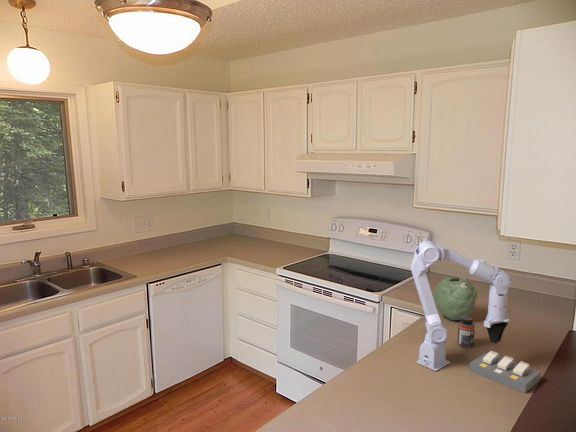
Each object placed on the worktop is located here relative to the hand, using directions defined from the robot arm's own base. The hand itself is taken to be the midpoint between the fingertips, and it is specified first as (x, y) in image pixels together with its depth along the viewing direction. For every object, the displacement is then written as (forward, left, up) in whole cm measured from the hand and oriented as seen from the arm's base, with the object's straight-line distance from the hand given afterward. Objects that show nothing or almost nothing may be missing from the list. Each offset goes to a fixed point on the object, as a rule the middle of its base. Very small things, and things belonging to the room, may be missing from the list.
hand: (494, 341), depth 146 cm
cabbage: (+30, +32, -10) cm, 45 cm away
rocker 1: (-2, 0, -5) cm, 6 cm away
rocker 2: (-2, -5, -5) cm, 8 cm away
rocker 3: (-2, -10, -5) cm, 11 cm away
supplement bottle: (+9, +15, -10) cm, 20 cm away
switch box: (-3, -5, -9) cm, 11 cm away
